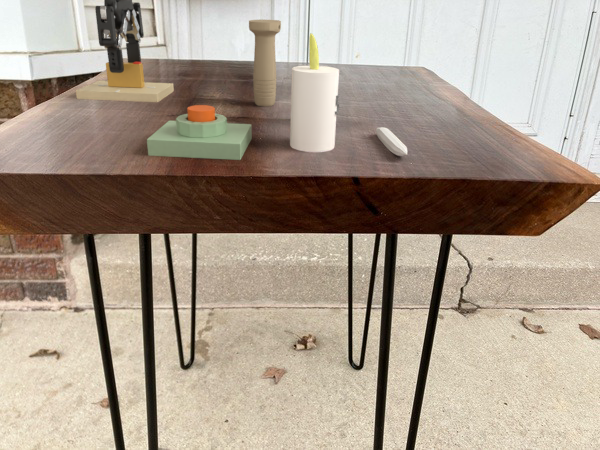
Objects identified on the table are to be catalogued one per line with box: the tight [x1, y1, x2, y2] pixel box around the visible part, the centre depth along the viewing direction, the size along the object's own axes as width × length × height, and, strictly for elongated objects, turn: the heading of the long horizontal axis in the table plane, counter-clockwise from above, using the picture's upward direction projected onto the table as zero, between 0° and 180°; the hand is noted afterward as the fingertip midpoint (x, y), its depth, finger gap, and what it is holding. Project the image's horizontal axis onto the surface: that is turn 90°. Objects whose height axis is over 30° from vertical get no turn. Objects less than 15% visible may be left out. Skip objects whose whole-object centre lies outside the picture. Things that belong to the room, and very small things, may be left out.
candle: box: [289, 32, 341, 153], centre depth 71 cm, size 6×6×15 cm
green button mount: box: [146, 113, 253, 161], centre depth 71 cm, size 12×10×4 cm
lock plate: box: [75, 79, 175, 103], centre depth 94 cm, size 14×10×3 cm
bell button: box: [186, 104, 216, 122], centre depth 70 cm, size 4×4×2 cm
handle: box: [248, 19, 282, 107], centre depth 88 cm, size 5×6×15 cm
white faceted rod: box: [375, 126, 408, 157], centre depth 74 cm, size 2×14×2 cm, turn 6°
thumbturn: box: [105, 61, 145, 88], centre depth 93 cm, size 6×2×4 cm, turn 87°
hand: (126, 68), depth 92 cm, fingers open, 8 cm apart
